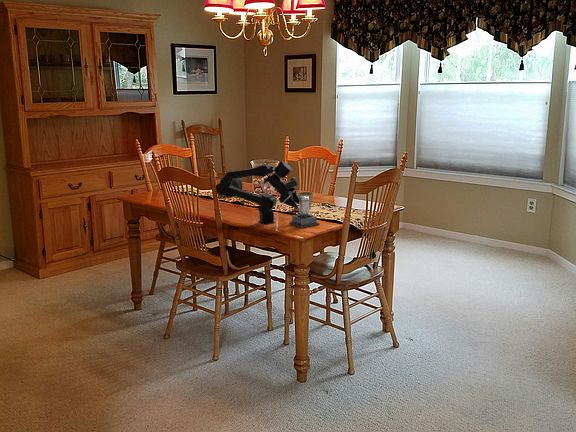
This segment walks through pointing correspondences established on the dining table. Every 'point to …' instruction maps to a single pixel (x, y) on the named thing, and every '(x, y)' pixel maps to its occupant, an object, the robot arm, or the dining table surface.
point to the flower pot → (306, 195)
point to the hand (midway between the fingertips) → (299, 206)
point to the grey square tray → (304, 221)
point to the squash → (236, 183)
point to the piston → (304, 207)
